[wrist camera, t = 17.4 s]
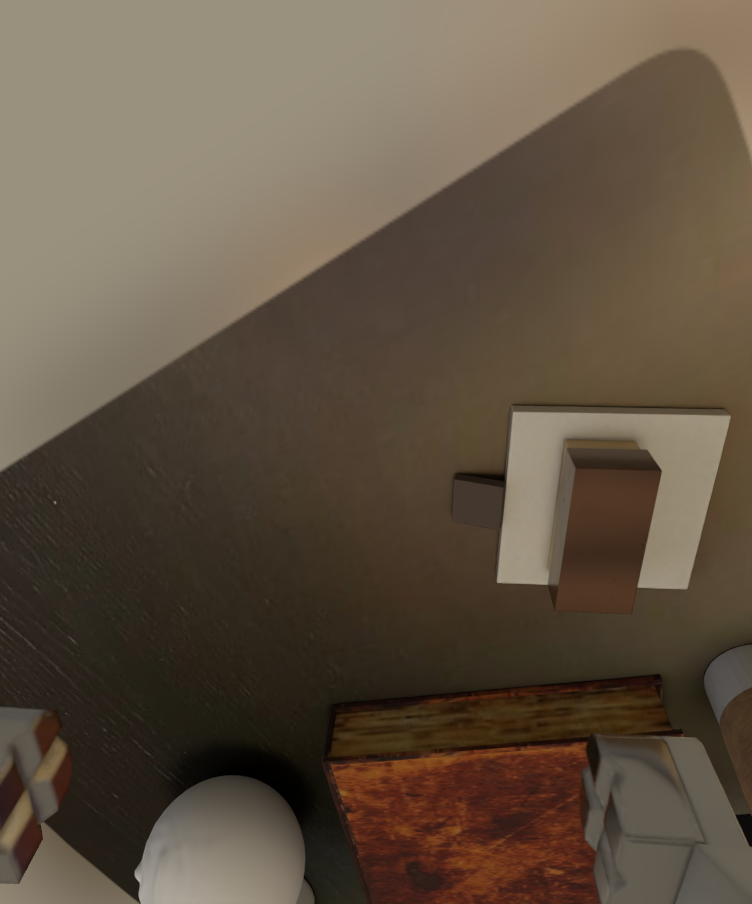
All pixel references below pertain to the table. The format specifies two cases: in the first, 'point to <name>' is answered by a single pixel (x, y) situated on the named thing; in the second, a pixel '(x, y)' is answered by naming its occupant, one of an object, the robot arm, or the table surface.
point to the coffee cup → (734, 709)
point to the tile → (654, 429)
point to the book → (477, 789)
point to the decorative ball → (224, 847)
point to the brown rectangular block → (601, 525)
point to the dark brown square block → (478, 501)
